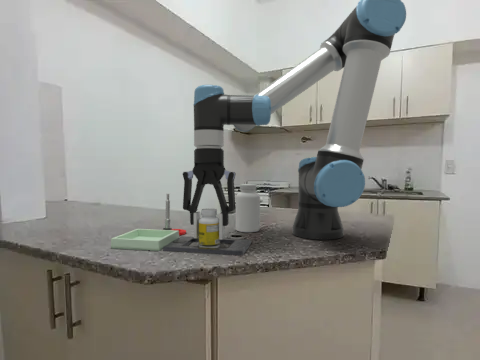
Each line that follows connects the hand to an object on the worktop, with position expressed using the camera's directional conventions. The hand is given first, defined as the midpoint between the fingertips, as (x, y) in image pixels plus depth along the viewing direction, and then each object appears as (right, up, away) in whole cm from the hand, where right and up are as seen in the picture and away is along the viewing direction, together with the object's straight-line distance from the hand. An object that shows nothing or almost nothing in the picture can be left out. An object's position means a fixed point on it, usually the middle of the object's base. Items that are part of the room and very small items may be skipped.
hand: (209, 237), depth 83 cm
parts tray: (-17, -2, +4) cm, 18 cm away
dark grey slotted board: (0, -2, 0) cm, 2 cm away
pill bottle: (+11, -2, +21) cm, 24 cm away
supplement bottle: (0, -3, 0) cm, 3 cm away
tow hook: (-13, -2, +16) cm, 21 cm away
